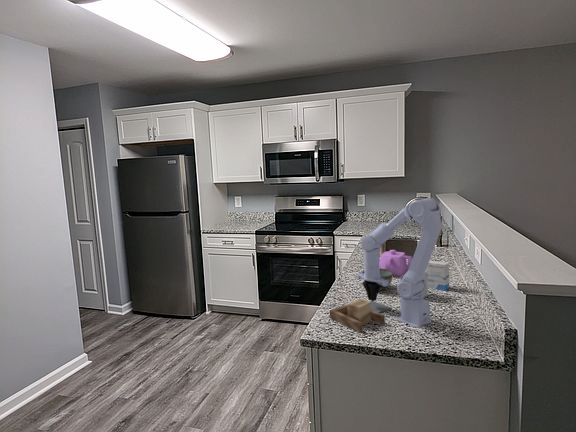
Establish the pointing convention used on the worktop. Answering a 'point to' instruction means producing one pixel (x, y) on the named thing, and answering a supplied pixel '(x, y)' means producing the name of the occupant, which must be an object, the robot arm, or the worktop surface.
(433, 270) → the ink box
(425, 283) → the small box
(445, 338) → the worktop surface
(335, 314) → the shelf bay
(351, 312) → the gripped blank
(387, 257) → the teakettle
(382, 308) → the mat
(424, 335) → the worktop surface
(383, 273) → the bowl
